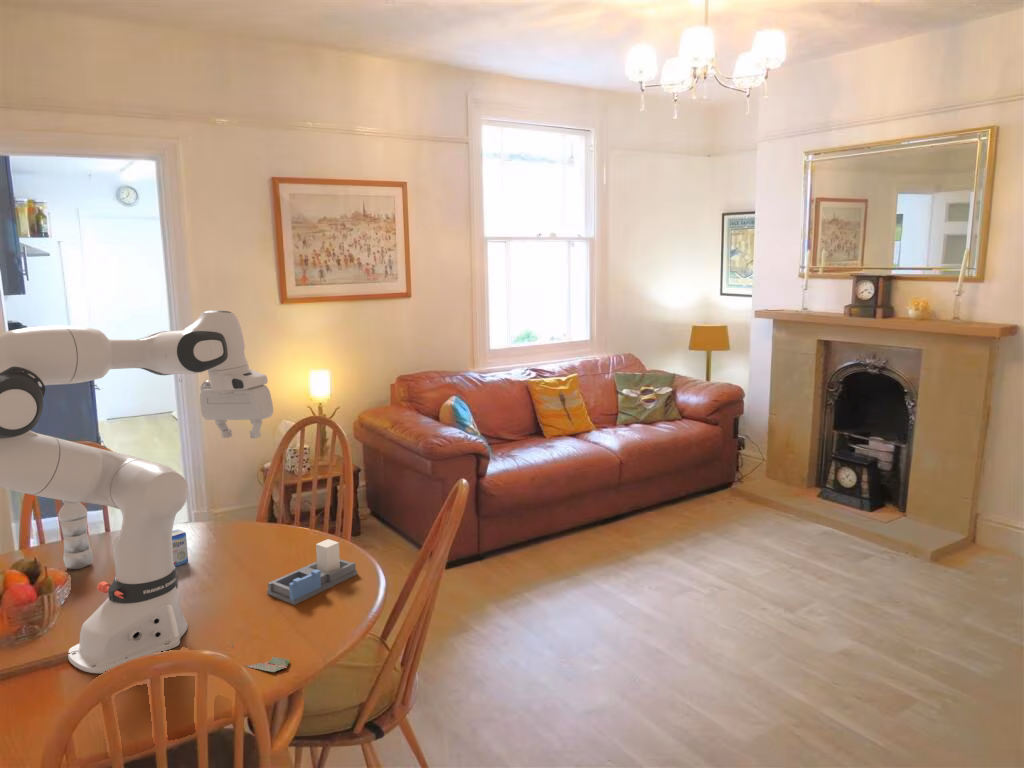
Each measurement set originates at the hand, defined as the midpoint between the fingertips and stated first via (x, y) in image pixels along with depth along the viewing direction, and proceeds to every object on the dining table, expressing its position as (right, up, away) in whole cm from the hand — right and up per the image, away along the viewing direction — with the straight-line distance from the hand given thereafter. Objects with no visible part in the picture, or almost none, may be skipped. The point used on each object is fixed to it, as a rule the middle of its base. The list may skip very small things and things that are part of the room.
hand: (241, 437), depth 166 cm
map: (+9, -44, -22) cm, 50 cm away
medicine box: (-27, -36, +22) cm, 50 cm away
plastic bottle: (-51, -36, +21) cm, 65 cm away
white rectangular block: (+17, -36, +15) cm, 42 cm away
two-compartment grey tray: (+14, -37, +11) cm, 41 cm away
